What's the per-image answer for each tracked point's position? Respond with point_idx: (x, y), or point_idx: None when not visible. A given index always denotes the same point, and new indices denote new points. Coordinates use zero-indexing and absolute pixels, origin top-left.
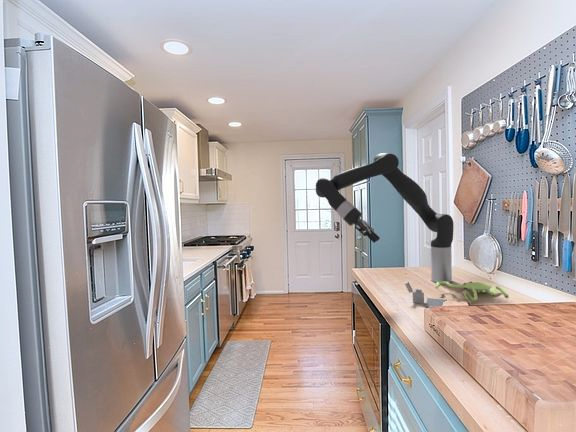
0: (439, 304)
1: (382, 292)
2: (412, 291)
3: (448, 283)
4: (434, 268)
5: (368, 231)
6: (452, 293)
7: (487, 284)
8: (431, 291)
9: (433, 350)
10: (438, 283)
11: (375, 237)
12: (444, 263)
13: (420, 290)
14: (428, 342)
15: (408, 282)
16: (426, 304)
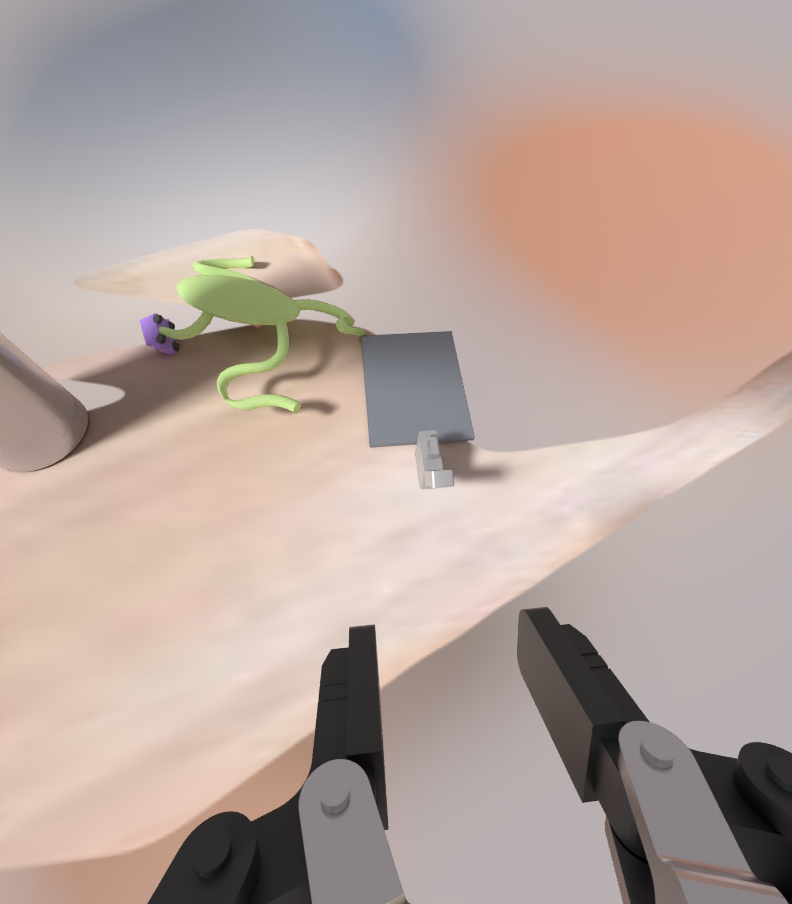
0: (434, 402)
1: None
2: (441, 469)
3: (268, 363)
4: (14, 418)
5: (789, 764)
6: (257, 382)
7: (199, 277)
8: (247, 448)
9: (778, 385)
10: (265, 397)
11: (566, 632)
12: (15, 354)
13: (432, 437)
14: (745, 399)
15: (433, 471)
16: (456, 437)
